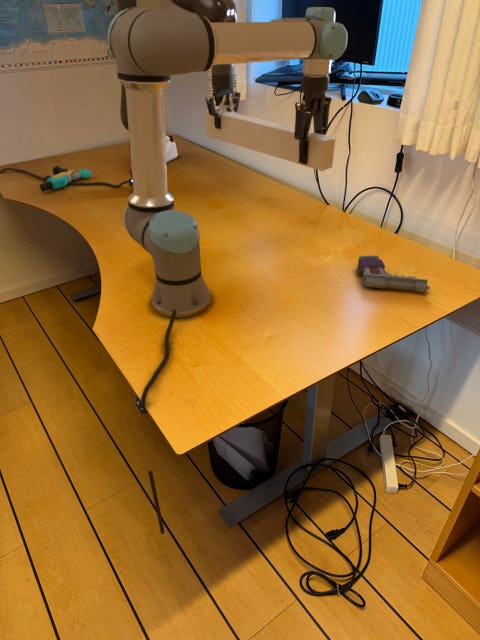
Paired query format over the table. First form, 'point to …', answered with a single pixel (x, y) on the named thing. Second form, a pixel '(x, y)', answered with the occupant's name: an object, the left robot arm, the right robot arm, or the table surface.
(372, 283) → the toy gun
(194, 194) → the table surface
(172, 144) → the sneaker
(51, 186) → the toy gun
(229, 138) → the bar
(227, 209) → the table surface
